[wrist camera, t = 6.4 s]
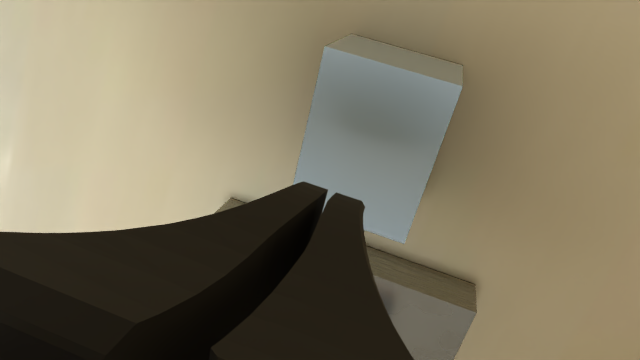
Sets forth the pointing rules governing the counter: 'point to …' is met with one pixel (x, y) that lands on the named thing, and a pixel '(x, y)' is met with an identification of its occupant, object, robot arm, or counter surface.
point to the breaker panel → (420, 303)
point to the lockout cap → (378, 128)
